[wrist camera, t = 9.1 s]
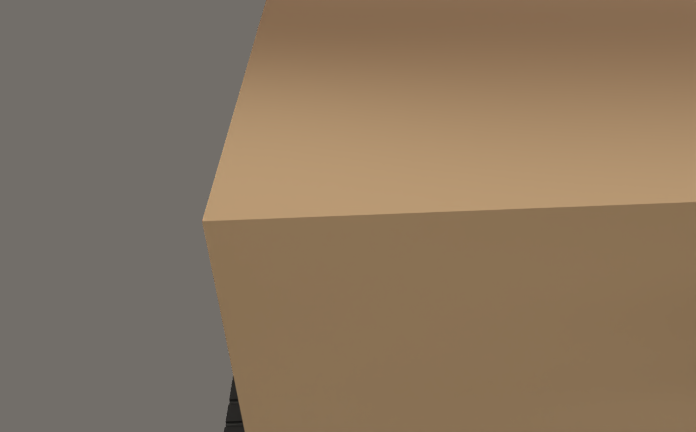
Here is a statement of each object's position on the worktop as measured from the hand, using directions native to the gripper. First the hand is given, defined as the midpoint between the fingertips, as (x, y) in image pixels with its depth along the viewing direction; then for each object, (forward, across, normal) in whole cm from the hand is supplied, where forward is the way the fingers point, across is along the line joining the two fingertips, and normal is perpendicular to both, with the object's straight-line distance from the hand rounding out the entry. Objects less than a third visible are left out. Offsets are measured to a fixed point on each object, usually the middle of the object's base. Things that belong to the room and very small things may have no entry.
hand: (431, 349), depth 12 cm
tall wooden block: (-3, 0, +9) cm, 9 cm away
